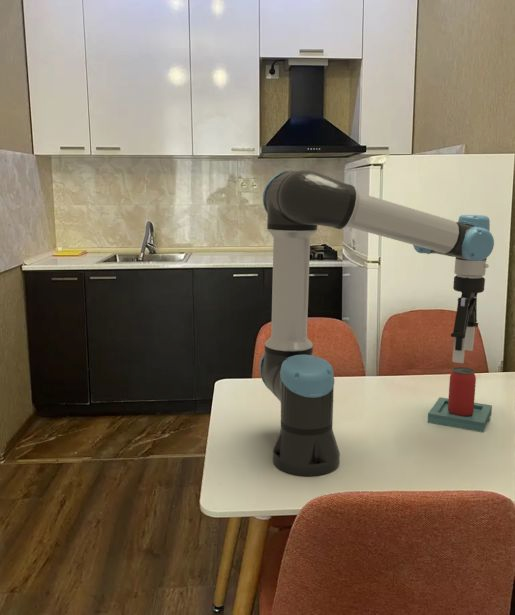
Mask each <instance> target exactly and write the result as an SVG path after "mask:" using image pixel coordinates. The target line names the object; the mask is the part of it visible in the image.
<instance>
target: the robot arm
mask: <svg viewBox="0 0 515 615" xmlns="http://www.w3.org/2000/svg"><path fill="white" fill-rule="evenodd" d="M262 204H263V208H264V210H265V212H266V213H267V221H266V222H267V223H266V226H267V227H266V230H267V232H268V233H269V234H271V236H272V238H273V244H272V245H273V246H272V248H273V249H272V284H271V286H272V287H271V288H272V289H271V290H272V294H271V327H270V328H271V333H270V334H271V335H270V337H269V338H268V339H267V340H266V341H265V342H264V353H263V354H262V356H261V358H260V362H259V373H260V377H261V380H262V381H263V384H264V385H265V387H266V389H268V390H269V391H270V392H271V393H272V394H273V396H275V397H276V399H277V400H278V401H279V403H280V429H279V432H278V435H277V437H276V441H275V444H274V446H273V449H272V462H273V465H274V466H275V467H276V468H277V469H279V470H281V471H282V472H285V473H288V474H291V475H296V476H302V477H303V476H304V477H306V476H307V477H311V476H312V477H313V476H321V475H325V474H326V475H327V474H328V473H331V472H333V471H335V470H336V469H337V468H338V467H339V465H340V459H341V458H340V456H341V455H340V454H341V453H340V450H339V446H338V443H337V440H336V436H335V433H334V430H333V429H334V428H333V424H334V423H333V422H334V421H333V420H334V419H333V418H334V391H335V390H334V388H335V376H334V369H333V366H332V365H331V363H330V362H329V361H328V360H327V359H324V358H322V357H319V356H317V357H316V355H313V353H314V348H313V347H314V343H313V342H312V341H311V340H310V339H309V338H308V315H309V314H308V313H309V312H308V309H309V286H310V285H309V284H310V280H309V279H310V255H311V254H310V252H311V251H310V250H311V238H312V237H313V236H314V235H315V234H316V233H317V232H318V226H323V227H329V228H333V229H338V230H344V229H345V228H351V229H355V230H359V231H361V232H362V231H363V232H366V233H369V234H373V235H377V236H380V237H384V238H387V239H391V240H394V241H398V242H402V243H406V244H410V245H412V246H413V249H414V250H415V252H417V253H419V254H426V255H430V254H433V255H434V254H437V255H442V256H447V257H451V258H452V257H453V258H455V260H454V269H453V271H454V274H455V276H454V277H453V288H452V289H453V290H454V291H455V292H460V293H461V296H460V297H457V307H456V312H455V320H454V326H453V332H452V333H451V334H450V337H451V338H453V347H452V363H457V364H464V362H465V352H466V351H470V352H473V351H474V343H475V341H474V340H475V333H476V332H475V331H476V330H475V329H476V328H478V327H479V322H478V320H477V314H478V313H477V311H478V310H477V309H478V308H477V307H478V306H477V300H478V299H477V297H478V294H480V293H483V292H484V291H485V283H486V278H485V277H484V276H486V269H488V268H489V267H490V266H489V263H487V258H489V256H490V255H491V254H492V252H493V250H494V246H495V238H494V236H493V234H492V232H491V231H490V230H491V229H490V225H491V224H490V223H491V221H490V217H488V216H487V215H482V214H479V215H478V214H461V215H460V216H459V217H458V221H454V220H451V219H449V218H448V219H447V218H445V217H443V216H442V217H441V216H439V215H435V214H431V213H428V212H425V211H421V210H418V209H415V208H412V207H410V206H409V207H408V206H405V205H402V204H398V203H394V202H392V201H388V200H385V199H381V198H379V197H375V196H371V195H368V194H366V193H365V194H364V193H361V192H358V189H357V187H356V186H355V185H353V184H349V183H347V182H342V181H340V180H337V179H334V178H332V177H330V176H327V175H325V174H322V173H320V172H317V171H315V170H307V169H302V170H301V169H299V170H292V169H291V170H285V171H283V172H280V173H277V174H276V175H274V176H273V177H271V178H270V180H269V181H268V182H267V183H266V185H265V187H264V189H263V192H262Z"/></svg>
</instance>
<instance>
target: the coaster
mask: <svg viewBox="0 0 515 615" xmlns="http://www.w3.org/2000/svg"><path fill="white" fill-rule="evenodd" d="M448 399H449V397H448V398H447V397H441V396H439V398H437V399H436V402H435V403H434V404H433V406H432V407H431V408H430V410H429V412H428V413H427V423H430V424H434V425H441V426H447V427H453V428H457V429H463V430H469V431H473V432H474V431H475V432H480V433H484V432H485V430H486V427H487V425H488V423H489V420H490V418H491V416H492V409H493V405H491V404H486V403H485V404H484V403H478V402H474V413H473V414H472V415H470V416H466V417H463V416H457V415H453V414H451V413H450V412H449V411H448Z"/></svg>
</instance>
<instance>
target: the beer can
mask: <svg viewBox="0 0 515 615" xmlns="http://www.w3.org/2000/svg"><path fill="white" fill-rule="evenodd" d="M476 381H477V376H476V375H475V370H474V369H473V368H469V367H466V366H456V367H453V368H452V370H451V373H450V374H449V382H448V383H449V385H448V386H449V387H448V411H449V412H450V413H451V414H453V415H457V416H463V417H466V416H470V415H472V414H473V413H474V403H475V396H476Z"/></svg>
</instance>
